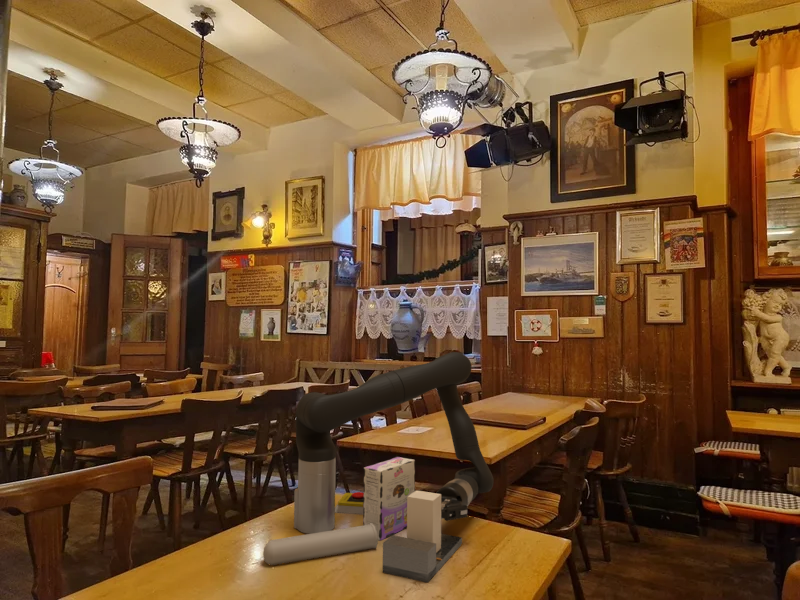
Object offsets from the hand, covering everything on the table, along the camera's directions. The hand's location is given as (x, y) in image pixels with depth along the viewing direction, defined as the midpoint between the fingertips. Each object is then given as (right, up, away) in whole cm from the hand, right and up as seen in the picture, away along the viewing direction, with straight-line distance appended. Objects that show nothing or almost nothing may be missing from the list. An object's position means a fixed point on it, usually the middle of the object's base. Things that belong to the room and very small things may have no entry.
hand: (428, 519), depth 121 cm
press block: (-1, -6, -3) cm, 6 cm away
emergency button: (-17, -9, +29) cm, 35 cm away
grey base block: (-1, -7, -2) cm, 8 cm away
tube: (-24, -8, -1) cm, 25 cm away
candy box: (-9, -8, +14) cm, 18 cm away
